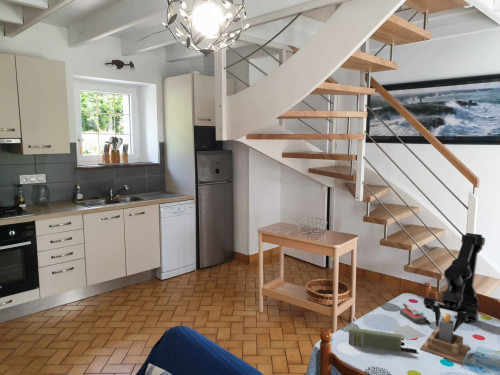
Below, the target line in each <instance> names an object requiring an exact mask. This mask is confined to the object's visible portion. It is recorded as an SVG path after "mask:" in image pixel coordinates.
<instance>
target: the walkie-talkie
mask: <svg viewBox="0 0 500 375" xmlns="http://www.w3.org/2000/svg"><path fill="white" fill-rule="evenodd" d="M402 306H404V307H402V308H400V309H399V314H400V315H401V316H403V317H404V318H406V319H407V320H409V321H410V322H412V323H413V324H416V325H417V324H424V323H425V324H430V320H429V319H427V317H426V316H425V315H424V314H422V312H421V311H420V310H418V309H417V308H413V307H412V306H409V305H407V304H406V303H402Z"/></svg>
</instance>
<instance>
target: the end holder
mask: <svg viewBox="0 0 500 375" xmlns="http://www.w3.org/2000/svg"><path fill="white" fill-rule="evenodd" d="M469 349H470V345H466V344H464V336H462V335H458V334H455V333H453V342H452V344H451V343H448V342H445V341H441V340H439V328H435V329H433V331H432V332H431V333H430V335H429V336H428V338H427V339H426V340H425V341H424V343H423V344H422V345H421V346H420V349H419V350H420V351H423V352H427V353H430V354H432V355H435V356H438V357H441V358H443V359H444V360H446V361H450V362H453V363H455V364H458V365H462V363H463V361H464V359H465V357H466V355H467V354H468V352H469Z"/></svg>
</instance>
